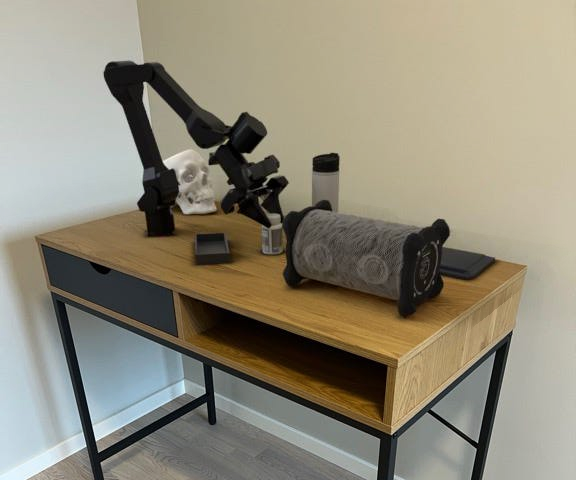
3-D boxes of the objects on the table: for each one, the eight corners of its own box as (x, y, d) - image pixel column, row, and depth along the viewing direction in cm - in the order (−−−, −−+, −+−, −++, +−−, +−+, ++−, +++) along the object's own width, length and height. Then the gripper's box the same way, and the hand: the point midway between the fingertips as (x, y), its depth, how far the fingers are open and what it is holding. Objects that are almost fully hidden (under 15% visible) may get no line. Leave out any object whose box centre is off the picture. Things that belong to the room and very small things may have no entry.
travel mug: (343, 241, 144) (346, 154, 134) (325, 247, 140) (327, 158, 130) (323, 236, 148) (325, 151, 138) (306, 242, 144) (306, 155, 134)
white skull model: (201, 213, 160) (172, 144, 156) (161, 236, 174) (134, 173, 170) (235, 203, 169) (209, 138, 165) (195, 226, 183) (170, 166, 180)
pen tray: (230, 262, 131) (229, 252, 130) (196, 264, 130) (195, 254, 129) (226, 241, 145) (225, 232, 144) (195, 243, 144) (194, 233, 143)
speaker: (408, 323, 103) (417, 238, 95) (279, 288, 118) (277, 212, 110) (444, 296, 113) (455, 217, 106) (321, 267, 128) (322, 196, 121)
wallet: (383, 254, 129) (415, 237, 140) (382, 262, 130) (414, 245, 141) (470, 272, 119) (498, 253, 129) (468, 281, 120) (496, 261, 130)
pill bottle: (283, 248, 140) (283, 212, 135) (281, 255, 135) (281, 218, 131) (263, 248, 140) (262, 212, 136) (261, 254, 136) (259, 218, 132)
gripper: (226, 149, 121) (270, 211, 121) (281, 138, 134) (321, 194, 134) (202, 184, 130) (242, 242, 129) (256, 170, 142) (293, 223, 142)
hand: (276, 224), depth 134 cm, fingers closed on pill bottle, 4 cm apart
